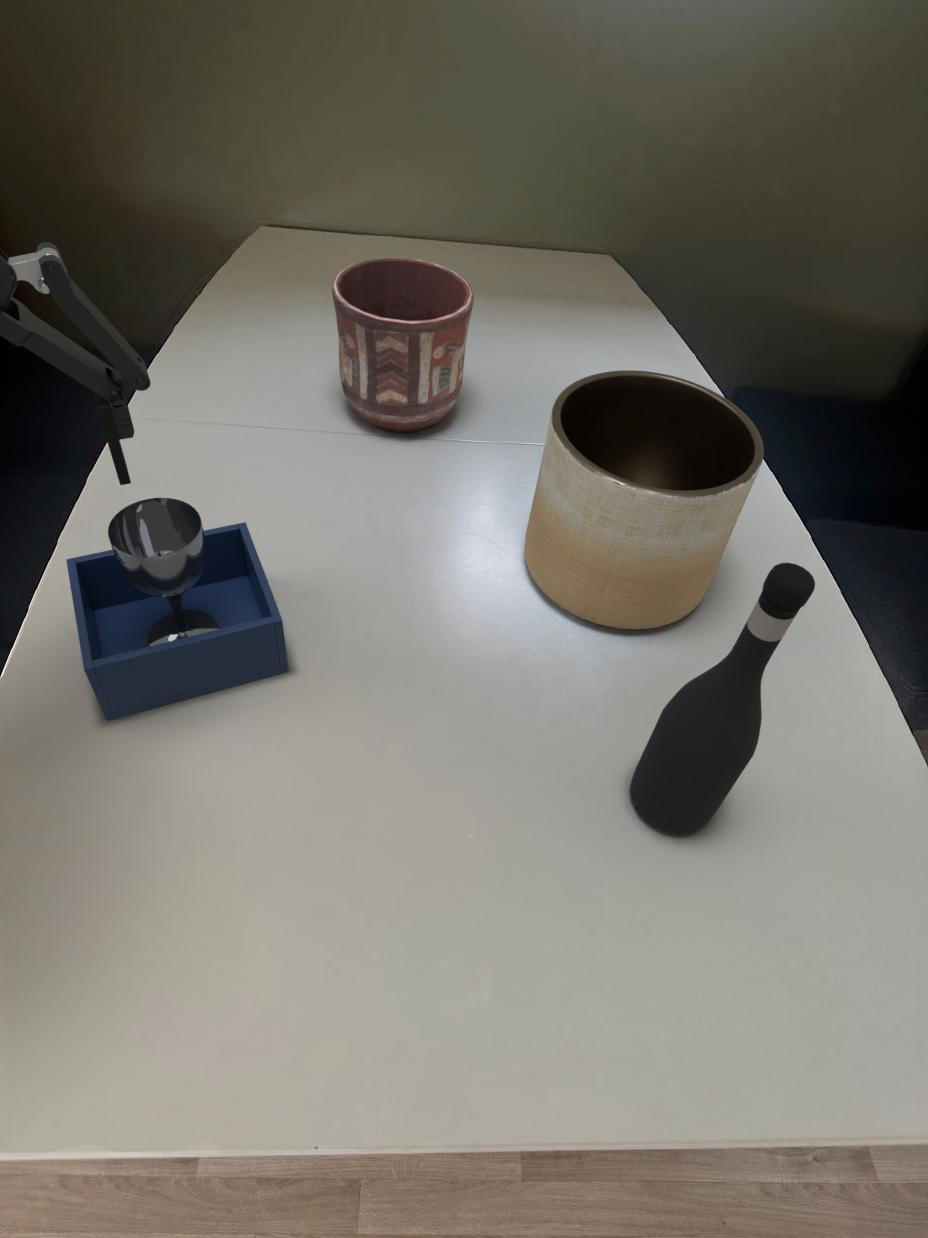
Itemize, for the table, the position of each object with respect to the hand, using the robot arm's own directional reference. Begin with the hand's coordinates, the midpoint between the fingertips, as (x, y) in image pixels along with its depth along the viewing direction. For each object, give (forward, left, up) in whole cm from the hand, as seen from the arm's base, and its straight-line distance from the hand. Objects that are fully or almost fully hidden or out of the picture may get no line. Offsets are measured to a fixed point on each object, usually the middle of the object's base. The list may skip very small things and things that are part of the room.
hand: (22, 491), depth 57 cm
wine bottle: (+46, -28, -27) cm, 60 cm away
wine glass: (+8, +6, -26) cm, 28 cm away
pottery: (+44, +39, -27) cm, 65 cm away
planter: (+57, +1, -27) cm, 63 cm away
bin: (+8, +6, -27) cm, 29 cm away
